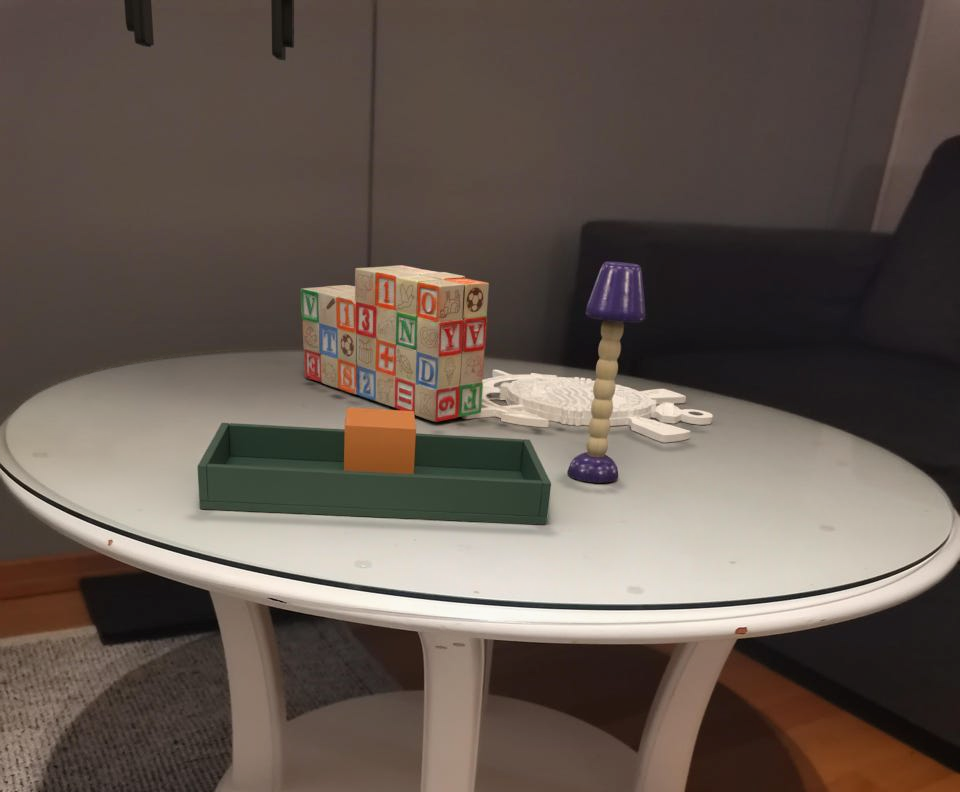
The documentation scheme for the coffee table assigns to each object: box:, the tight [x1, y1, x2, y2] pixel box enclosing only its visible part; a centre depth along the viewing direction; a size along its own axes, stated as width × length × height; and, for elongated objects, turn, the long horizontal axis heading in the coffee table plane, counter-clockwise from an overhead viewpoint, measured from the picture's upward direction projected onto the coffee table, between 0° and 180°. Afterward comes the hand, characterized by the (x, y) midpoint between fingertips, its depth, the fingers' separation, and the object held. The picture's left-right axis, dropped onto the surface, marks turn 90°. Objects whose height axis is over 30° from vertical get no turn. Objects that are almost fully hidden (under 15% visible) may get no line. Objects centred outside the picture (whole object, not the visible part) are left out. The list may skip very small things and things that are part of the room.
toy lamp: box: [567, 261, 646, 484], centre depth 78 cm, size 5×5×17 cm
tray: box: [197, 422, 552, 525], centre depth 72 cm, size 24×11×3 cm, turn 95°
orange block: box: [344, 407, 417, 474], centre depth 72 cm, size 5×5×5 cm
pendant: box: [460, 369, 714, 444], centre depth 103 cm, size 21×28×1 cm
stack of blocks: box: [300, 264, 490, 423], centre depth 97 cm, size 21×6×12 cm, turn 44°
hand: (212, 51), depth 71 cm, fingers open, 9 cm apart
